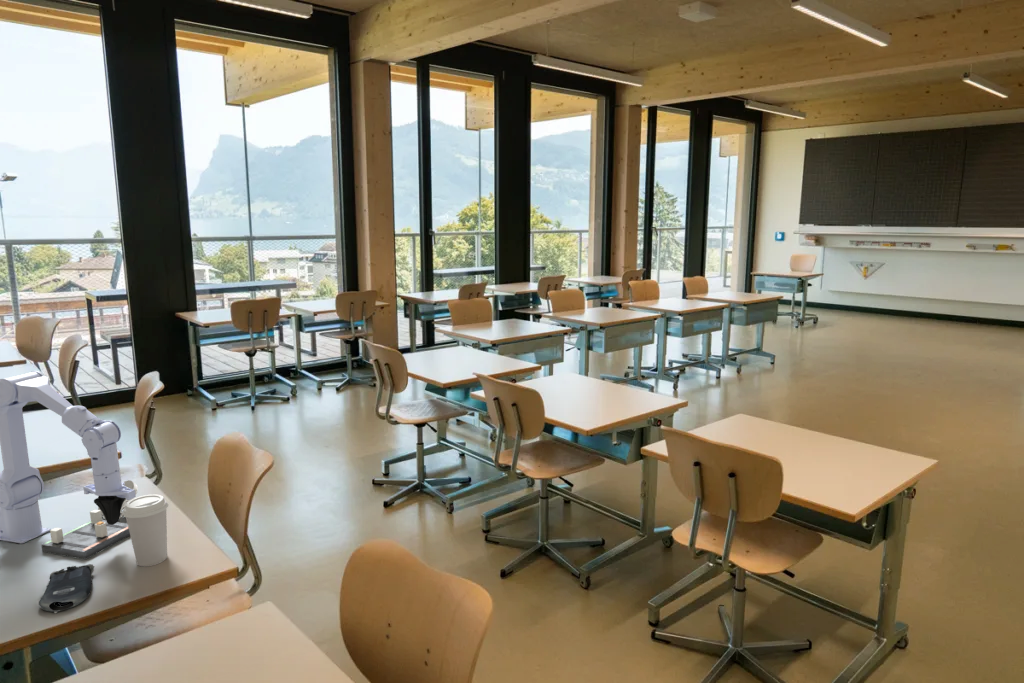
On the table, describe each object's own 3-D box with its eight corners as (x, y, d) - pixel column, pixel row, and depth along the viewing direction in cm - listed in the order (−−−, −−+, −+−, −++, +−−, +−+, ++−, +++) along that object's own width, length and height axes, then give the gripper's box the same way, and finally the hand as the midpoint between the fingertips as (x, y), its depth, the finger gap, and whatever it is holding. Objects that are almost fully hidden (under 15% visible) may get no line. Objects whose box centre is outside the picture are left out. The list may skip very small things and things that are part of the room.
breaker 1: (51, 542, 167) (49, 530, 166) (57, 539, 168) (56, 527, 168) (57, 543, 166) (55, 531, 165) (63, 540, 168) (61, 528, 167)
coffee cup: (126, 573, 155) (118, 512, 153) (132, 554, 164) (125, 496, 162) (172, 564, 159) (165, 505, 156) (175, 547, 168) (169, 490, 165)
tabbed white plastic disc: (89, 508, 190) (108, 471, 192) (117, 515, 195) (135, 478, 198) (106, 524, 179) (126, 484, 182) (135, 530, 185) (154, 491, 188)
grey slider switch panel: (42, 551, 167) (41, 544, 166) (96, 525, 181) (95, 518, 180) (85, 559, 162) (83, 551, 162) (136, 532, 176) (135, 524, 176)
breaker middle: (96, 536, 169) (94, 523, 169) (101, 533, 171) (99, 520, 170) (102, 537, 169) (100, 524, 168) (107, 534, 170) (105, 521, 170)
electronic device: (46, 592, 151) (35, 616, 138) (47, 567, 151) (36, 589, 138) (94, 586, 156) (88, 609, 142) (95, 562, 156) (89, 583, 142)
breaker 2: (91, 523, 177) (89, 511, 176) (96, 520, 178) (95, 509, 178) (97, 524, 176) (95, 512, 176) (102, 521, 178) (100, 510, 177)
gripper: (142, 468, 167) (149, 519, 169) (98, 463, 171) (105, 513, 174) (118, 478, 160) (125, 531, 163) (72, 473, 165) (80, 524, 167)
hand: (113, 522), depth 168 cm, fingers closed
